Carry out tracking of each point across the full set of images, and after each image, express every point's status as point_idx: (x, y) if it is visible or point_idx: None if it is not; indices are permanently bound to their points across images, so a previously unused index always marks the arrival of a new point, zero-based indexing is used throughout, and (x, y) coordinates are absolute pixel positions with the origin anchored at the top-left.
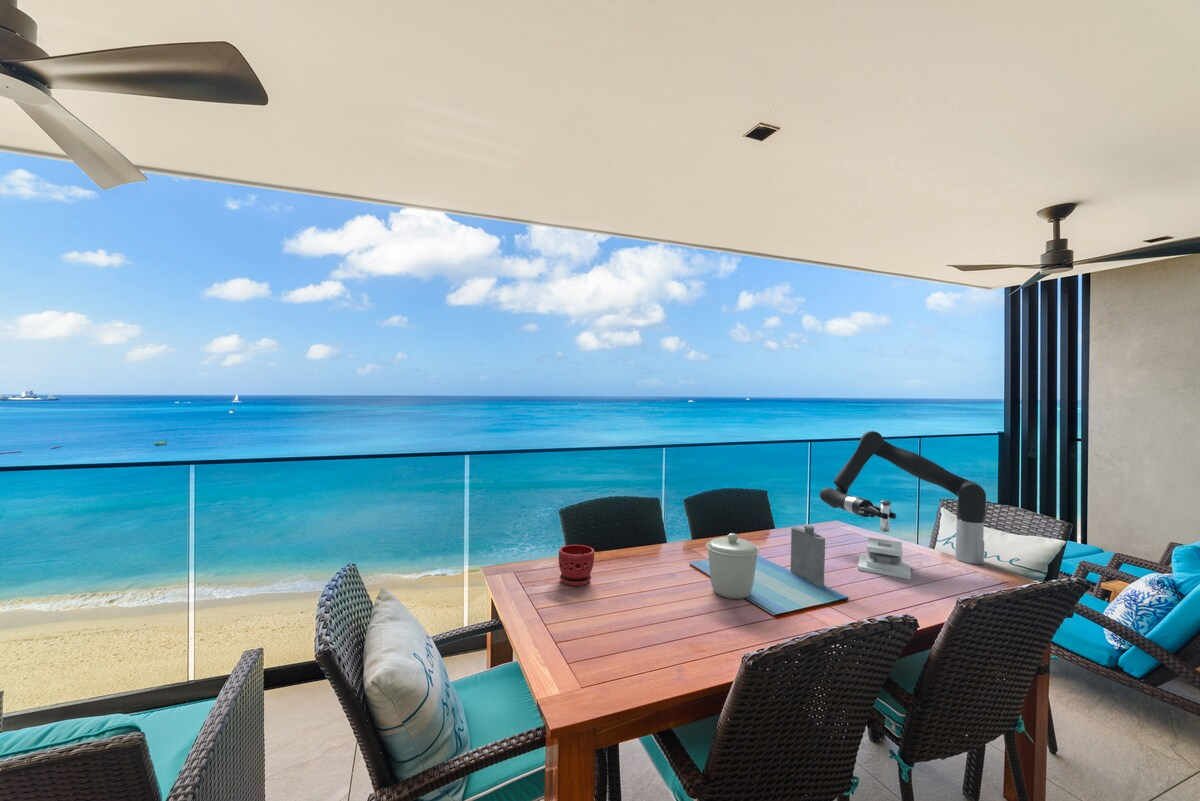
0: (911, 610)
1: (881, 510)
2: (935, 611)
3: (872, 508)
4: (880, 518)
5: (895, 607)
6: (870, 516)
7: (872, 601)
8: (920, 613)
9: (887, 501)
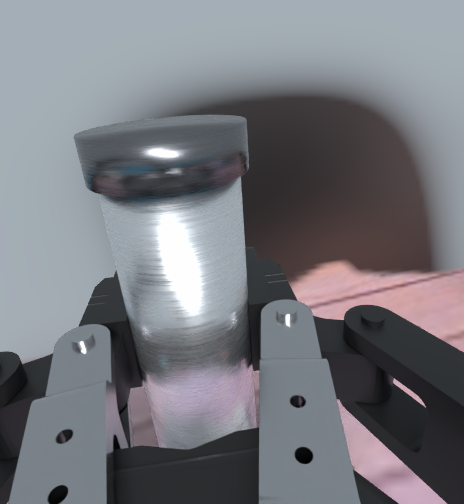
0: (362, 285)
1: (246, 276)
2: (307, 282)
3: (330, 382)
4: (242, 402)
5: (396, 293)
6: (399, 398)
7: (451, 314)
8: (348, 277)
9: (144, 125)
